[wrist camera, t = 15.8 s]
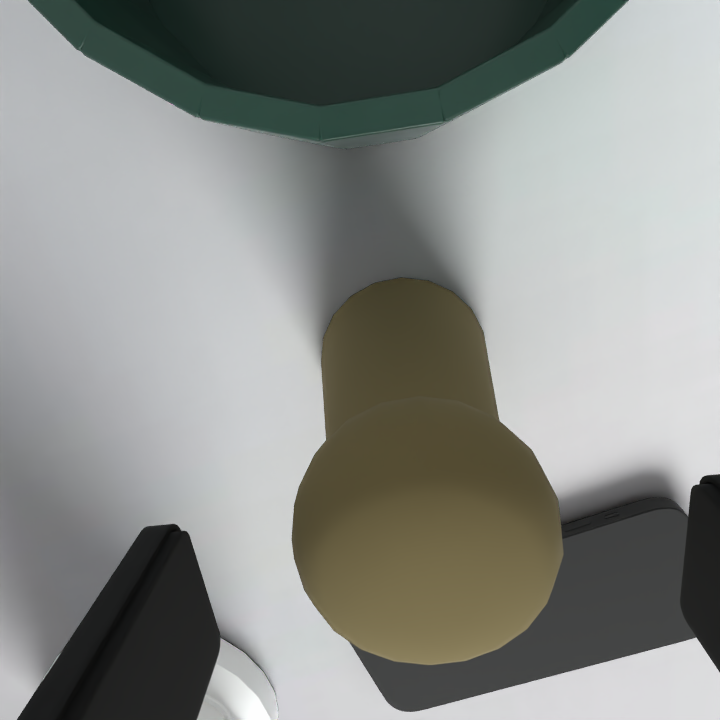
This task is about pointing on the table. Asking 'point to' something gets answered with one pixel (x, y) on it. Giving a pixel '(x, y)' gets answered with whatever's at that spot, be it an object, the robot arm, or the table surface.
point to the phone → (572, 611)
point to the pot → (329, 57)
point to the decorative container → (236, 689)
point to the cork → (421, 487)
